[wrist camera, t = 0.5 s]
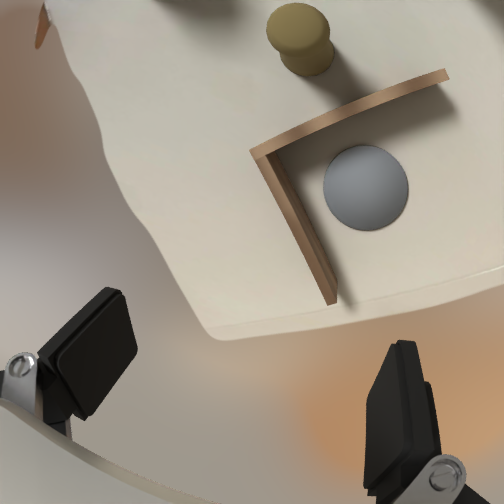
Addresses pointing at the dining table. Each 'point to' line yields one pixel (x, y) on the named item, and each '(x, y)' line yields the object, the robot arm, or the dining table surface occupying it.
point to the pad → (365, 187)
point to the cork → (301, 38)
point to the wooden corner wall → (286, 192)
